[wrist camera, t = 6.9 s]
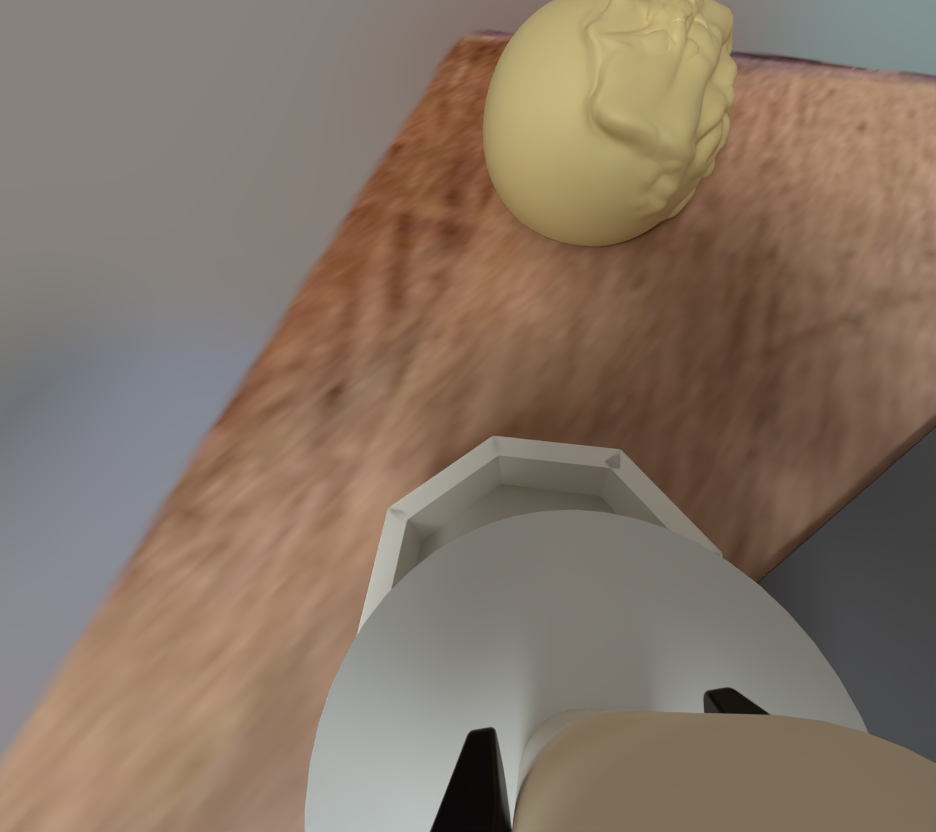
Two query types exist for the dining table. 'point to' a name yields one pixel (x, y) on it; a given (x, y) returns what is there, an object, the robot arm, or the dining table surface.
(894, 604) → the mat
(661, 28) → the sculpture
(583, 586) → the lid
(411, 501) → the bowl
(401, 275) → the dining table surface
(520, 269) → the dining table surface
